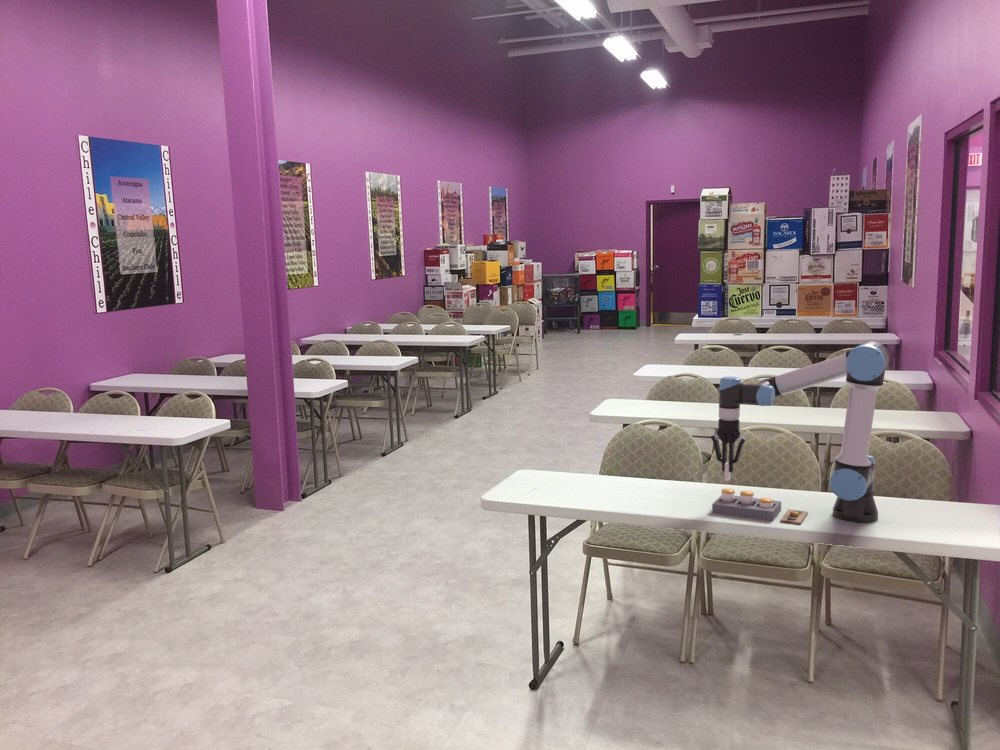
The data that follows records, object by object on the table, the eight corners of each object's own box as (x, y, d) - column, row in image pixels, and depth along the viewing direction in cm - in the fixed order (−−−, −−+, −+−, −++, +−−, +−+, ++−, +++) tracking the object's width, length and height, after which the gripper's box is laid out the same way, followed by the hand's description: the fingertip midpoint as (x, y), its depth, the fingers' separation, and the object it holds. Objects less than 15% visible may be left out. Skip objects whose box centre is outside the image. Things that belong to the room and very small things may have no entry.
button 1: (736, 500, 308) (736, 489, 308) (732, 504, 304) (732, 492, 304) (723, 499, 311) (723, 487, 310) (719, 502, 307) (720, 491, 306)
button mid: (754, 503, 305) (755, 491, 304) (751, 506, 301) (752, 494, 300) (741, 501, 307) (742, 490, 307) (738, 504, 303) (738, 493, 302)
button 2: (774, 510, 302) (774, 498, 301) (771, 513, 297) (771, 502, 297) (760, 508, 304) (761, 497, 303) (757, 512, 300) (758, 500, 299)
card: (807, 513, 300) (807, 508, 300) (800, 524, 288) (800, 519, 288) (788, 511, 304) (788, 506, 303) (780, 522, 292) (780, 516, 291)
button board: (781, 510, 305) (781, 501, 304) (773, 521, 293) (773, 511, 292) (722, 503, 316) (722, 494, 315) (712, 513, 304) (712, 503, 303)
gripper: (749, 418, 303) (747, 479, 306) (714, 415, 310) (712, 475, 313) (744, 421, 297) (742, 484, 300) (708, 418, 303) (707, 480, 307)
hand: (727, 479), depth 306 cm, fingers closed
